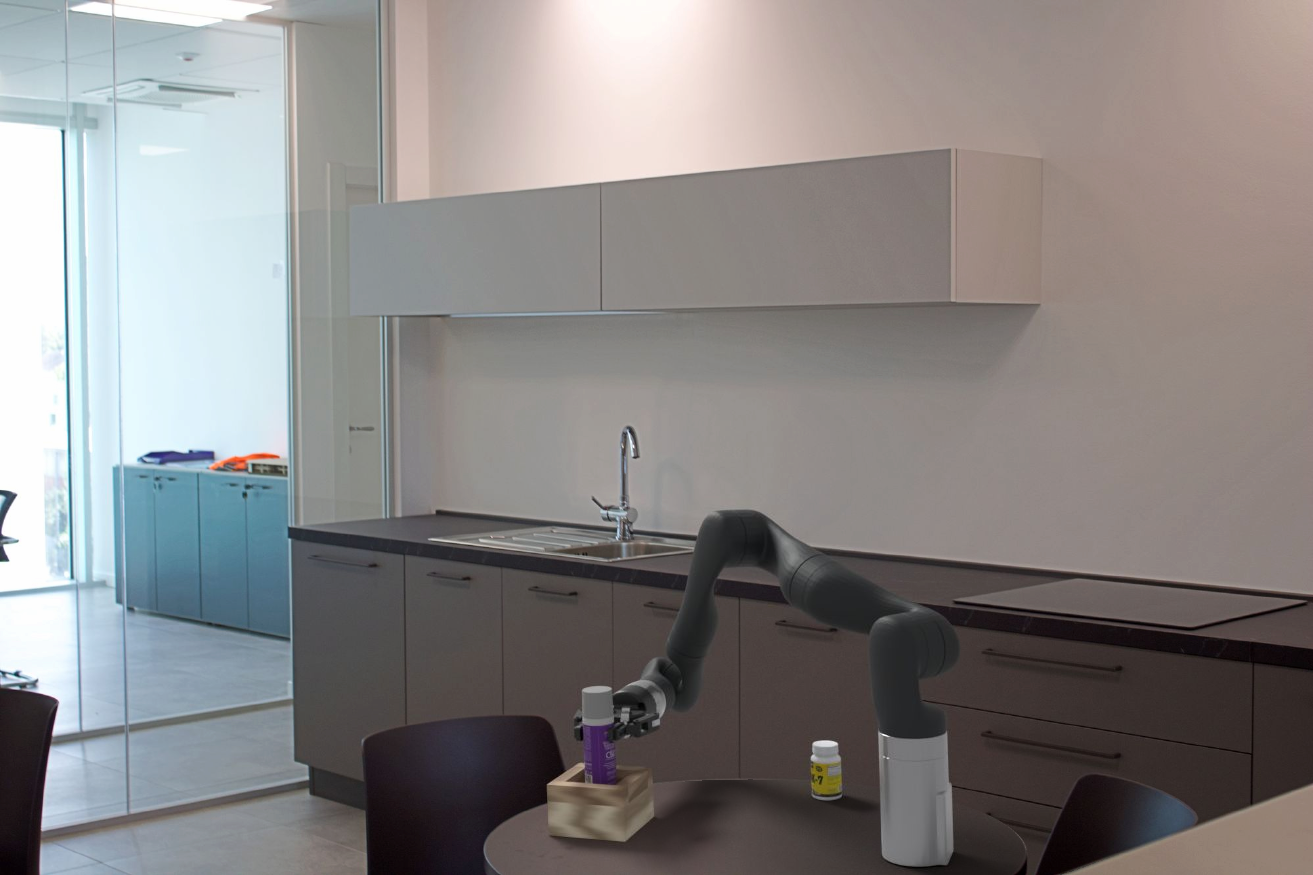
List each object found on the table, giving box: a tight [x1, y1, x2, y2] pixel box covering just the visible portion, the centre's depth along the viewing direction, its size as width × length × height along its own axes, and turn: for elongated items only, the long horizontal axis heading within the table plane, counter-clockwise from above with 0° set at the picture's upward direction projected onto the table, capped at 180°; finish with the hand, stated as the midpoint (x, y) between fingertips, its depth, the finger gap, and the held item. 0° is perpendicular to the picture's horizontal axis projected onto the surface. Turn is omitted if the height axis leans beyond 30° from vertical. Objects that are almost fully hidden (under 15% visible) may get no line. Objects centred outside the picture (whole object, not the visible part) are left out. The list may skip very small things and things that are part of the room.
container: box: [581, 685, 617, 785], centre depth 206 cm, size 5×5×15 cm
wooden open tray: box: [546, 762, 655, 843], centre depth 206 cm, size 12×12×8 cm
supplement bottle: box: [810, 740, 843, 801], centre depth 217 cm, size 5×5×8 cm
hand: (594, 735), depth 204 cm, fingers closed on container, 4 cm apart
